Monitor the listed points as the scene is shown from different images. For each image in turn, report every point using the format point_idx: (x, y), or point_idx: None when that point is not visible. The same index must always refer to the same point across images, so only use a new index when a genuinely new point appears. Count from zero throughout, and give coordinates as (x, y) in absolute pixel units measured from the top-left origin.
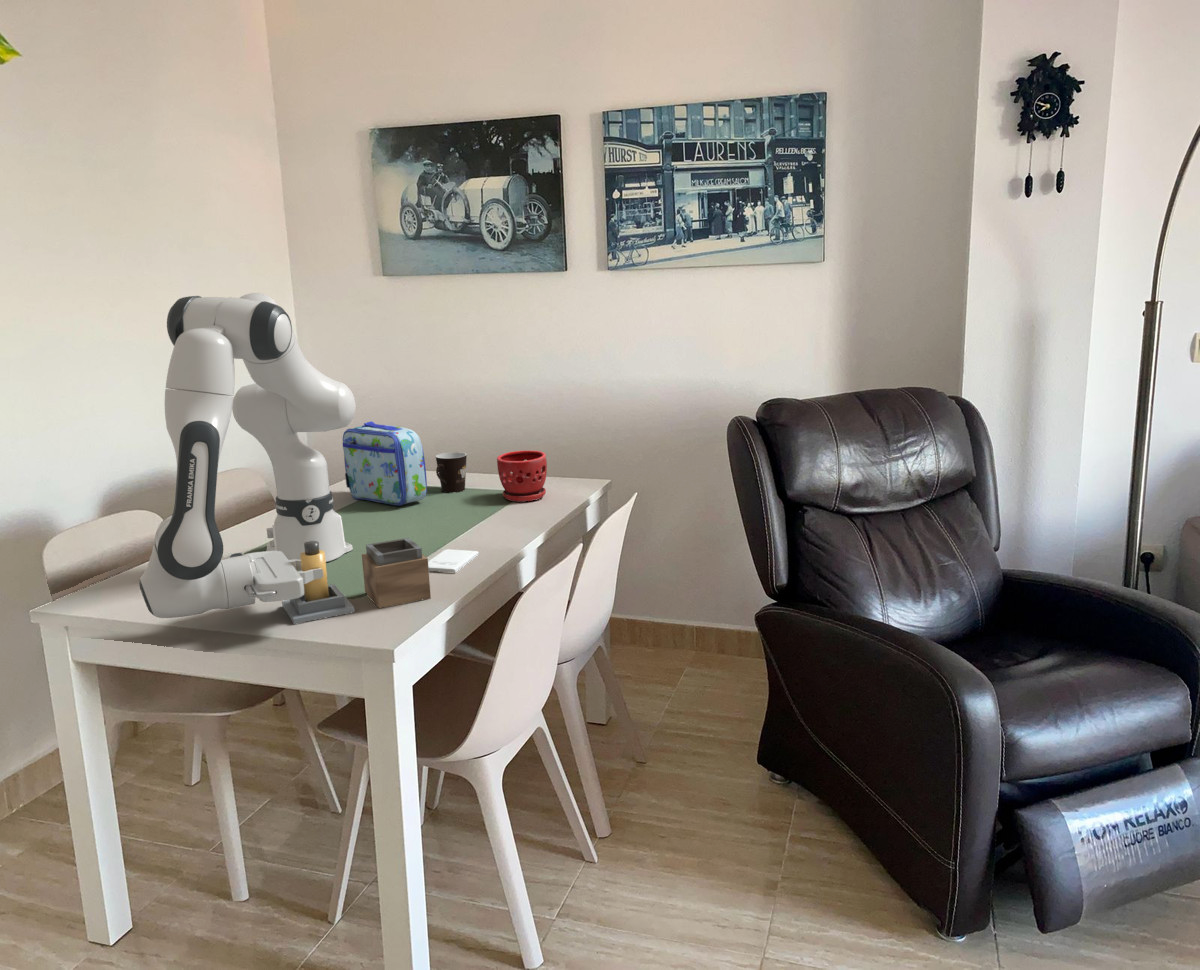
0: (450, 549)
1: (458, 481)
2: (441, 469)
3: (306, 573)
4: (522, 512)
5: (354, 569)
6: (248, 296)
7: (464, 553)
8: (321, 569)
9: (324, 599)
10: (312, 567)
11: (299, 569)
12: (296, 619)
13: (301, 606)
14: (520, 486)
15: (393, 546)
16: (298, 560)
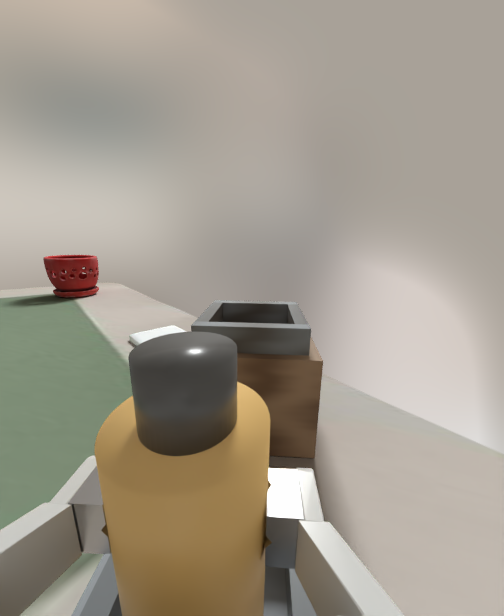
0: (139, 332)
1: None
2: None
3: (383, 599)
4: (106, 300)
5: (10, 422)
6: None
7: (167, 330)
8: (311, 470)
9: (306, 599)
10: (265, 503)
11: (26, 601)
12: None
13: None
14: (84, 281)
15: (218, 318)
16: (6, 546)
